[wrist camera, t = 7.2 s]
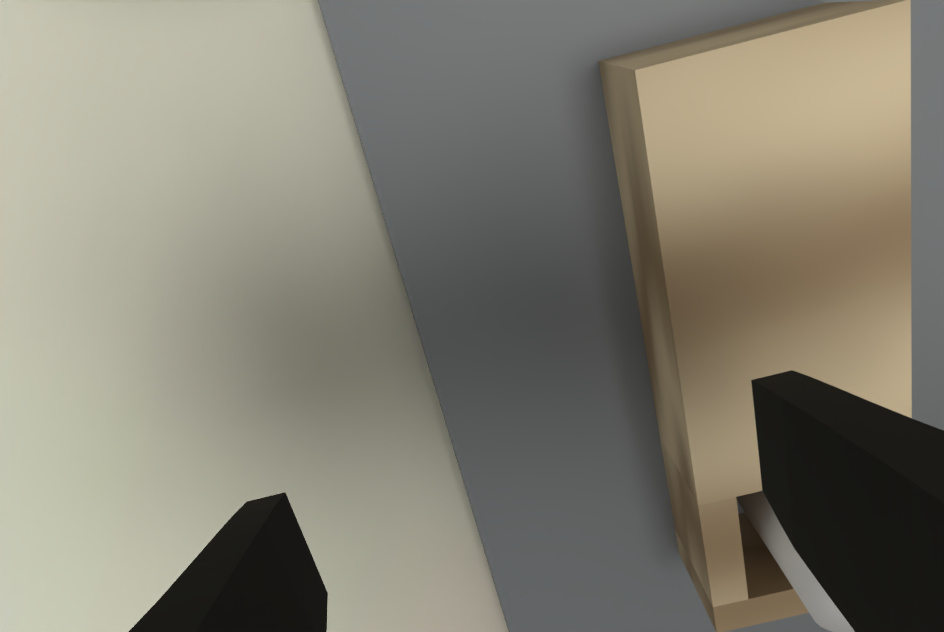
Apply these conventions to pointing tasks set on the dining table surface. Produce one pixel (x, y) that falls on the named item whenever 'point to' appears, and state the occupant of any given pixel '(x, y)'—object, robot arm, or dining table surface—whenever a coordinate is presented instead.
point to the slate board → (570, 286)
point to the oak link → (763, 251)
